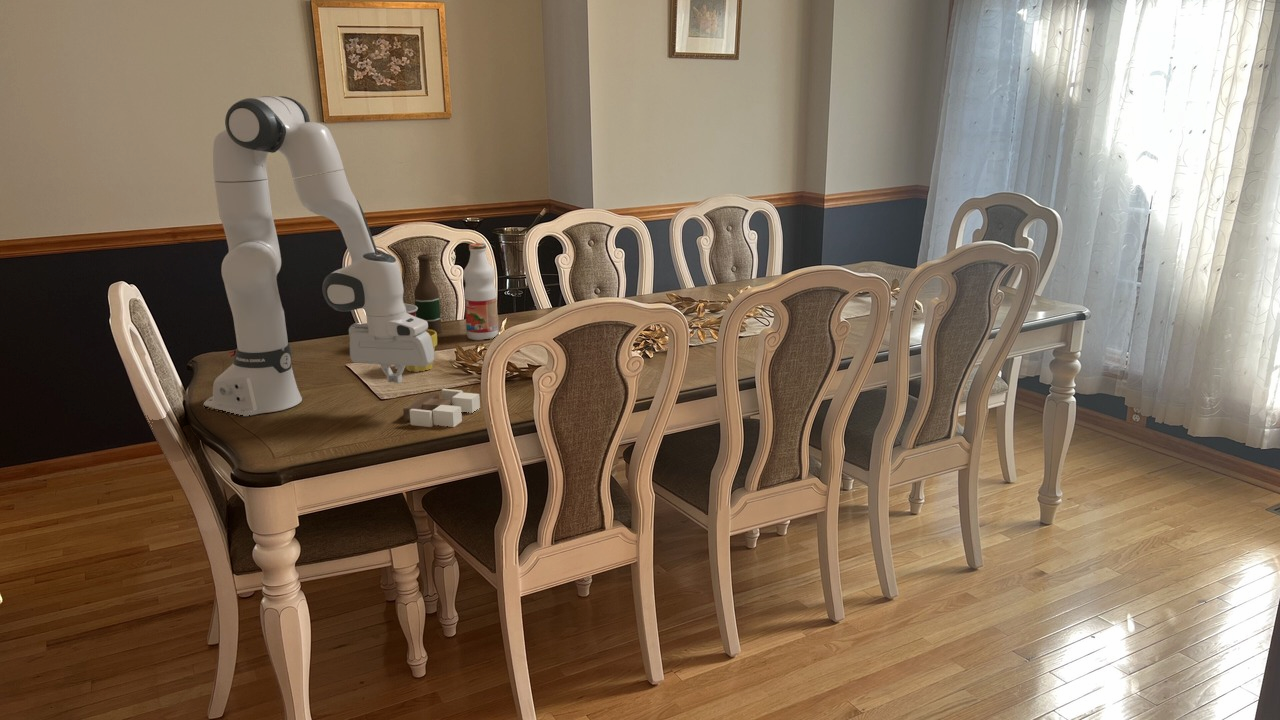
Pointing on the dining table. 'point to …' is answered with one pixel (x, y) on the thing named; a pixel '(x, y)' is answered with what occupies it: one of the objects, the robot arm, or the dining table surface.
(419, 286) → the beer bottle
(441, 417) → the cream T dock
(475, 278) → the fruit juice
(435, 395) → the walnut T block
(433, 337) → the plant pot
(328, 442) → the dining table surface
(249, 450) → the dining table surface
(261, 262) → the robot arm
